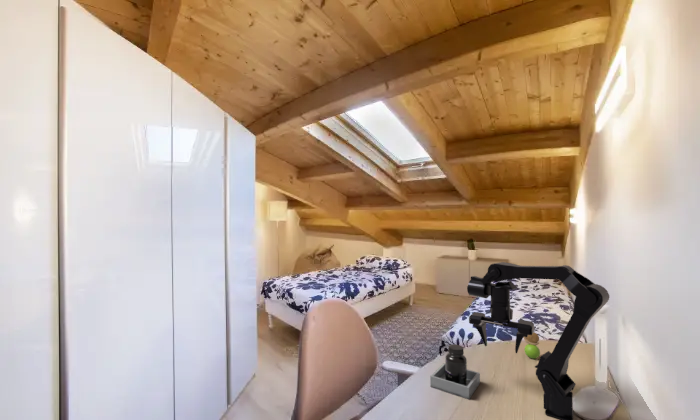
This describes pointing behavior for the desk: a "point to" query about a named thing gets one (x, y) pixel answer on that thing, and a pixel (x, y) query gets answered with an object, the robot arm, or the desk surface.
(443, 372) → the box
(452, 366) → the supplement bottle
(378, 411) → the desk surface
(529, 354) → the snail figurine
